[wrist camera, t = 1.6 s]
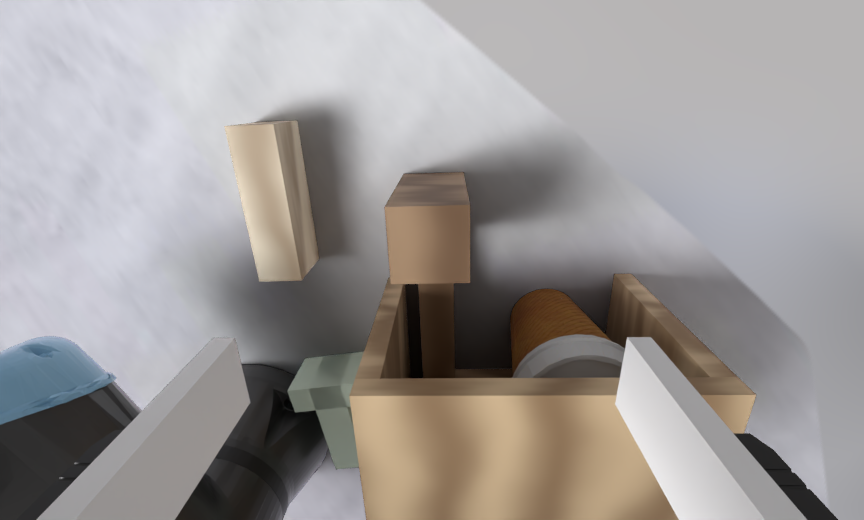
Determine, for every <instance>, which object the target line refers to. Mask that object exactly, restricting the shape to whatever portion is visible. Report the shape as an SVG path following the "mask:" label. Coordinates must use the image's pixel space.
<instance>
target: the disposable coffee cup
mask: <svg viewBox="0 0 864 520" xmlns="http://www.w3.org/2000/svg"><path fill="white" fill-rule="evenodd" d="M510 323H511V352H512V378H620V374H621V369H622V363H623V358H624V352H625V349H624V348H623V347H622V346H620V345H619V344H617V343H614V342H612V341H611V340H610V339H609V338H608V337H607V336H606V334H604V333H603V332H602V331H601V329H600V328H599V327H598V326H597V325H596V324H595V323H594V322H593V321H592V320H591V319H590V318H589V317H588V316H587V315H586V314H585V313H584V312H583V311H582V310H581V309H580V308H579V307H578V306H577V305H576V304H575V303H574V302H573V301H572V299H571V298H570V297H569V296H568V295H566V294H564V293H563V292H560V291H558V290H554V289H539V290H535V291H532V292H530V293H528V294H526V295H525V296H523V297H522V298H521V299H519V301H518V302H517V303H516V304H515V306H514V307H513V309H512V313H511V316H510Z"/></svg>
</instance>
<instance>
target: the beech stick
mask: <svg viewBox="0 0 864 520" xmlns="http://www.w3.org/2000/svg"><path fill="white" fill-rule="evenodd" d="M224 127H225V131H226V135H227V140H228V144H229V149H230V153H231V158H232V162H233V167H234V171H235V175H236V180H237V184H238V189H239V193H240V198H241V202H242V207H243V211H244V216H245V220H246V224H247V229H248V233H249V238H250V242H251V247H252V251H253V256H254V260H255V264H256V269H257V273H258V278H259V282H268V281H302V280H303V278H304V277H305V276H306V275H307V273H308V272H309V271H310V270H311V268H312V267H313V266H314V265H315V263H316V262H317V261H318V260H319V253H318V246H317V240H316V234H315V228H314V222H313V215H312V209H311V203H310V197H309V191H308V184H307V178H306V172H305V166H304V160H303V153H302V147H301V141H300V135H299V128H298V122H297V120H296V121H274V122H254V123H247V124H239V125H231V126H224Z"/></svg>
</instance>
